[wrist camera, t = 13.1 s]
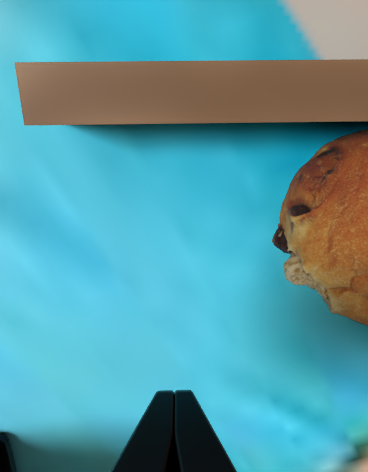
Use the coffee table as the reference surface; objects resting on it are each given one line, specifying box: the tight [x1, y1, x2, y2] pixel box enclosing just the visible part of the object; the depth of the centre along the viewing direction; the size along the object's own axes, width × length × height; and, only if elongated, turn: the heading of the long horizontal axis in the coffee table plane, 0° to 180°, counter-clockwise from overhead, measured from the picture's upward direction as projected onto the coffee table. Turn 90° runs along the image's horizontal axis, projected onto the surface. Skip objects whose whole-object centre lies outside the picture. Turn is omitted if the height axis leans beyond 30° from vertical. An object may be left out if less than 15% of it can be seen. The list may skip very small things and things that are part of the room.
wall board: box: [15, 60, 368, 125], centre depth 15 cm, size 11×24×4 cm, turn 91°
